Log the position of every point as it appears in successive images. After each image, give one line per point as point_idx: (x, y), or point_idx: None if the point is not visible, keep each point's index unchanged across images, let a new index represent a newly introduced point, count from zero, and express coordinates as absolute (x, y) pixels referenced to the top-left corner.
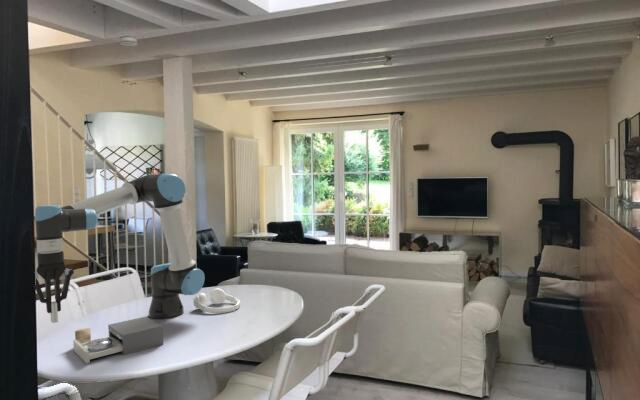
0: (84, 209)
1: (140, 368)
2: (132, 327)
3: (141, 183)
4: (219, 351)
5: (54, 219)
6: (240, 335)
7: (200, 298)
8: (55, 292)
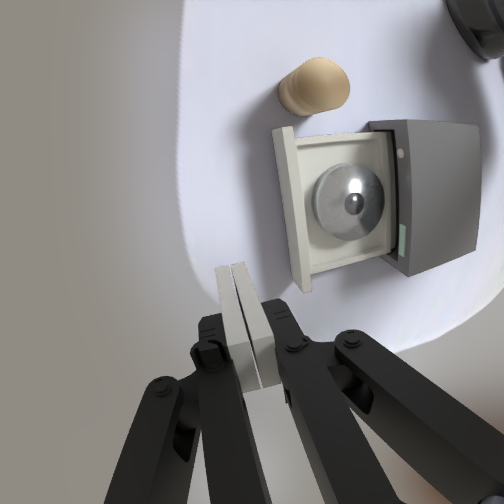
0: None
1: None
2: (443, 214)
3: None
4: (460, 320)
5: None
6: (501, 265)
7: None
8: (302, 433)
